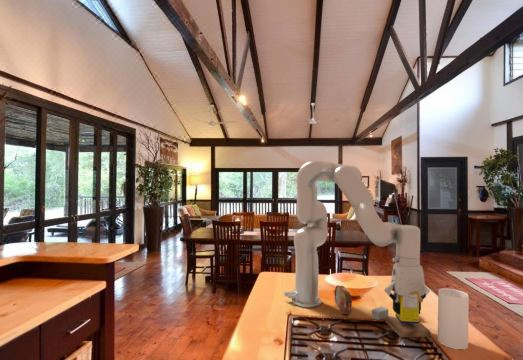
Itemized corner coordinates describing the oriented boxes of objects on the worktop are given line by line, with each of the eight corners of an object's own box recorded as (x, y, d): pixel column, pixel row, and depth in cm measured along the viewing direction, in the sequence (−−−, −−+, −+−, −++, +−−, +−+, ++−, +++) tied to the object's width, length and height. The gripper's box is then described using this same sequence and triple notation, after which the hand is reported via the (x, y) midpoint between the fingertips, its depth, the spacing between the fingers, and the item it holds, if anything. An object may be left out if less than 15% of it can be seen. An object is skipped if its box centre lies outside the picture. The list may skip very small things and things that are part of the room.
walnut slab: (400, 337, 100) (400, 331, 100) (386, 322, 110) (386, 317, 110) (429, 336, 101) (429, 330, 101) (412, 322, 111) (412, 316, 111)
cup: (434, 334, 102) (435, 287, 102) (462, 338, 100) (463, 289, 100) (441, 347, 94) (442, 295, 94) (472, 351, 92) (472, 299, 92)
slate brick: (378, 320, 112) (378, 312, 112) (371, 317, 115) (371, 309, 115) (388, 316, 115) (388, 309, 115) (381, 313, 118) (381, 306, 118)
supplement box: (412, 316, 108) (412, 285, 108) (419, 324, 102) (419, 292, 102) (394, 315, 109) (395, 285, 109) (400, 323, 103) (401, 291, 103)
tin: (333, 302, 129) (334, 282, 129) (341, 302, 129) (341, 282, 129) (344, 318, 114) (345, 295, 114) (353, 318, 114) (353, 295, 114)
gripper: (388, 264, 101) (387, 317, 101) (438, 264, 102) (437, 317, 102) (378, 258, 109) (377, 308, 109) (425, 258, 110) (424, 307, 110)
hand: (406, 312), depth 106 cm, fingers closed on supplement box, 6 cm apart
